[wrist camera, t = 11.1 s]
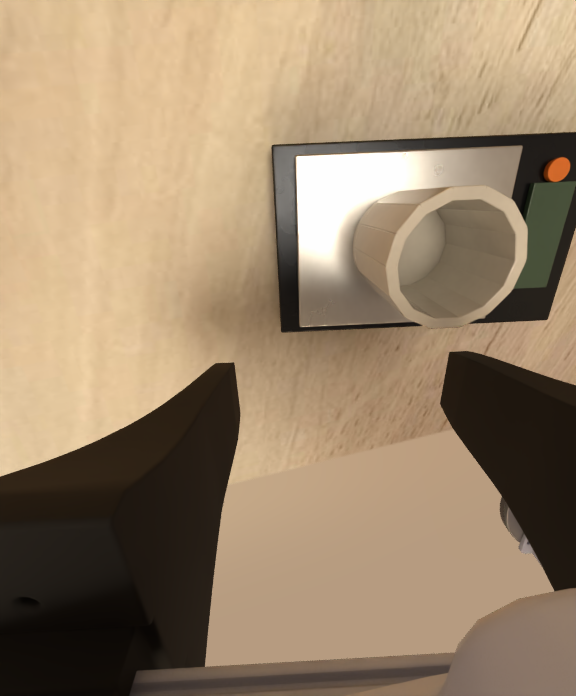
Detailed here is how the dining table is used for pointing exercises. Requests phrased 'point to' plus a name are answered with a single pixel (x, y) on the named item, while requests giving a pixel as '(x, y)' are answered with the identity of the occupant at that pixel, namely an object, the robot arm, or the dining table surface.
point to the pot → (442, 252)
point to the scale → (399, 175)
